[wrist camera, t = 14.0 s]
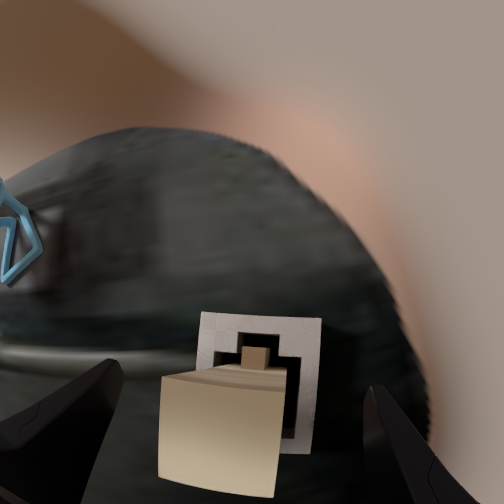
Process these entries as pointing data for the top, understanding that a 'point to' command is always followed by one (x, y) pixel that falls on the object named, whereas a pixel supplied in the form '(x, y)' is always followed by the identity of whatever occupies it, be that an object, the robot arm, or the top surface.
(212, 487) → the keyed post
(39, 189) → the top surface
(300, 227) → the top surface
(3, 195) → the chair
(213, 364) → the socket plate
